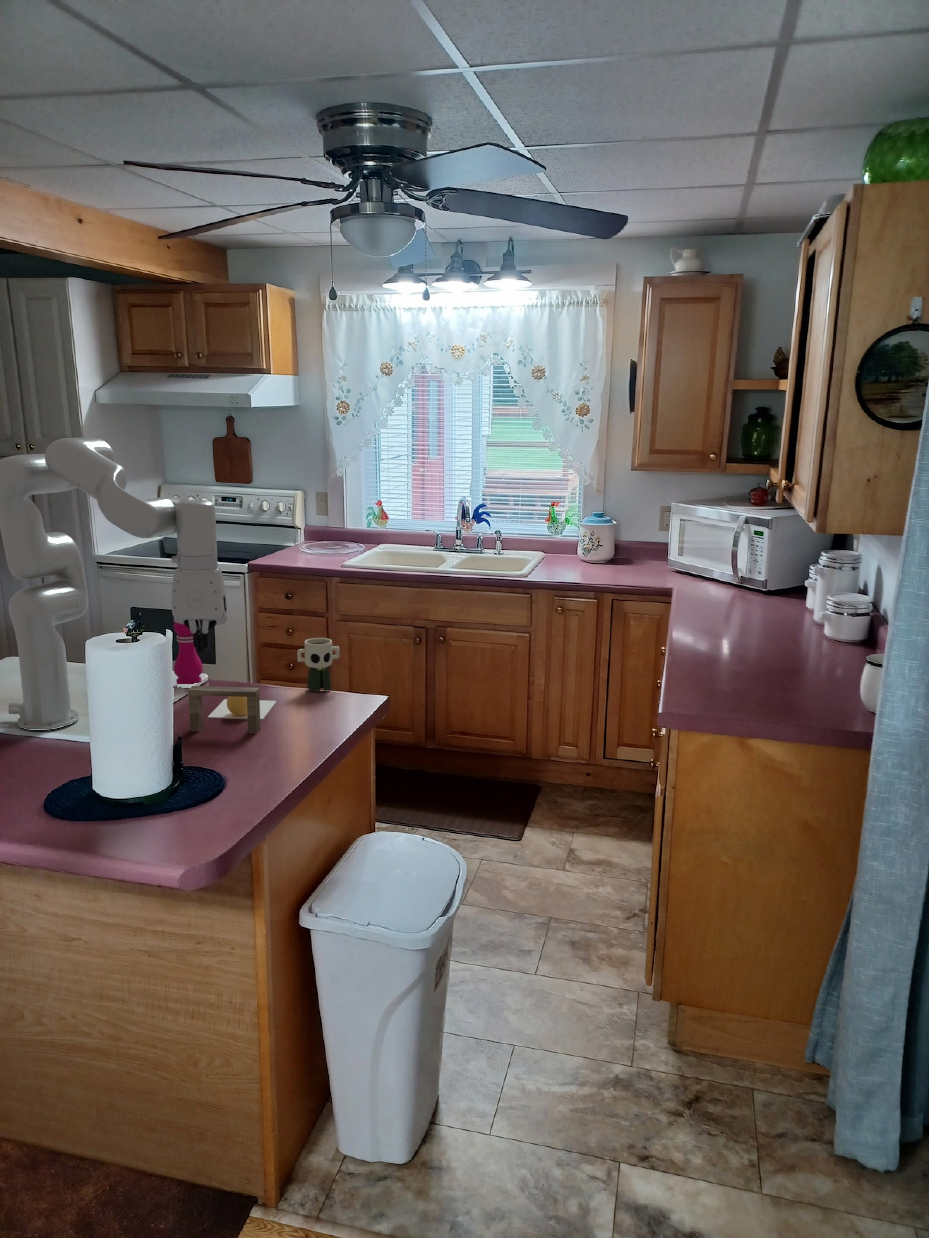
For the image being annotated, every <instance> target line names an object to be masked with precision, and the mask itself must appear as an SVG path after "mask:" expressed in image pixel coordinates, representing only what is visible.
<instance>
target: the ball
mask: <svg viewBox="0 0 929 1238" xmlns="http://www.w3.org/2000/svg"><path fill="white" fill-rule="evenodd" d="M226 699H227V708H228V710H229V711H230V712H231V713H232V714H234V715H237V716H242V715H245V714H247V697H232V696H227V698H226Z"/></svg>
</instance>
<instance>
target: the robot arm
mask: <svg viewBox="0 0 929 1238" xmlns="http://www.w3.org/2000/svg"><path fill="white" fill-rule="evenodd" d="M127 484H128V474H127V471H126V469H125V468H124V467H123V466H122V465H120V464H118V463H117V462H116V455H115V453H114V451H113V448H112V447H111V446H110V445H109V443H107V442H106V441H104V440H103V439H102V438H101V439H100V438H98V437H94V436H93V437H91V436H89V437H88V436H87V437H63V438H59V439H56V440H55V441H53V442H51V443H50V444H48V446H47V448H46V449H45V453H31V454H30V453H29V454H28V453H27V454H18V455H11V456H7V457H5V458H2V459H0V534H1V540H2V544H3V549H4V554H5V558H6V562H7V566H8V570H9V572H10V573H11V575H12V576H13V577H14V578H16V579H18V580H21V581H30V580H31V581H32V580H37V579H43V578H46V577H47V578H48V577H49V580H50V581H49V582H44V583H38V584H35V585H30V586H27V587H24V588H22V589H19V590H17V591H16V592H15V593H14V594H13V595H12V596H11V598H10V599H9V602H8V613H9V617H10V620H11V623H12V626H13V629H14V633H15V639H16V644H17V652H18V662H19V669H20V670H19V671H20V681H21V691H22V693H21V694H22V701H23V703H19V702H10V703H9V704H8V708H7V709H8V710H7V711H8V714H10V715H16V714H17V715H19V718H18V719H17V726H18V725H19V726H21V727H23V728H26V729H52V728H57V727H60V726H66V725H68V724H70V723H71V722H74V721H75V720H76V719H78V717H79V718H80V716H79V713H78V711H76V710H74V709H71V697H70V686H69V685H70V684H69V674H68V661H67V653H66V651H67V650H66V644H65V642H64V640H63V639H64V638H63V637H62V636H61V634H60V633H59V632H58V630H57V628H56V626H57V625H59V624H63V623H67V622H70V621H74V620H77V619H79V618H81V617H82V616H84V615H85V614H86V612H87V610H88V608H89V601H90V600H89V599H90V597H89V592H88V586H87V580H86V575H85V568H84V565H83V560H82V555H81V551H80V549H79V547H78V544H77V543H76V542H75V540H74V539H73V538H72V537H71V536H70V535H68V534H66V533H64V532H59V531H52V532H46V529H45V527H44V520H43V516H42V514H41V512H40V510H39V508H38V507H37V505H36V504H35V503H34V502H33V500H31V499H30V498H29V497H30V496H33V495H43V494H54V493H55V494H56V493H63V492H68V491H72V490H75V489H78V490H80V491H82V492H83V493H84V494H86V495H88V496H90V497H91V498H93V499H95V500H96V502H97V506H98V508H99V510H100V511H101V512H100V513H102V515H103V517H104V518H105V519H106V520H107V521H108V522H109V523H111V524H112V525H114V526H115V527H117V528H119V529H120V530H122V531H124V532H126V533H127V534H129V535H131V536H134V537H135V538H140V539H153V538H157V537H161V536H169V535H174V534H176V542H177V554H176V555H173V556H171V559H170V560H171V563H172V564H175V565H177V568H175V569H174V571H173V576H172V577H173V578H172V588H171V613H172V616H173V621H174V623H175V622H177V623H180V624H185V625H186V626H187V627H188V628H189V629H190V631H191V633H193V644H194V647H195V649H196V653H197V654H199V653H206V652H207V651H208V650H209V649H210V647H211V631H212V630H213V629H214V628H215V626H221V625H225V624H226V623H227V622H228V617H227V611H228V603H227V592H226V586H225V582H224V575H223V572H222V569H221V568H219V565H218V564H219V563H218V546H217V543H218V542H217V541H218V540H217V522H216V520H217V518H216V507H215V505H214V503H213V502H211V501H208V500H203V499H202V500H201V499H186V498H183V497H179V496H164V497H163V496H162V497H152V498H146V499H145V498H144V499H141V498H138V497H137V496H134V495H133V494H131V493H129V492H127V491H126V490H125V489H126V487H127ZM200 621H202V626H201V622H200ZM78 720H79V719H78ZM19 726H18V727H19Z"/></svg>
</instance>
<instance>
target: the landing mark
mask: <svg viewBox="0 0 929 1238" xmlns="http://www.w3.org/2000/svg"><path fill="white" fill-rule="evenodd" d="M227 699H228V698H224V699H223V700H222V701H221V702H220V703H219V704H218V706H217V707H215V709H213V711H212V712H211V713H210V714H209V715H208V716H207V719H210V718H211V719H232V720H233V719H235V720H237V719H238V720H248V716H247V714H245V715H242V716H237V715H234V714H232V713H231V712H230V711H229V710H228V708H227ZM277 702H278V701H277V700H265V699H263V700H262V699H260V721H262V720H264V719H265V718H266V716H267V715H268V714H269V713H270V711H271V710H272V708H273V707H274V706H275V704H276V703H277Z"/></svg>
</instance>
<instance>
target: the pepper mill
mask: <svg viewBox="0 0 929 1238" xmlns="http://www.w3.org/2000/svg"><path fill="white" fill-rule="evenodd" d="M173 629H174V632H175V633H176V634H177V635H176V642H177V643H178V647H179V648H178V654H177V658H176V659H175V662H174V665H173V673H174V675H175V676H176V677H177V678H176V680H175V681H176V682H177V684H194V683H199V682H201V681H203V680H202V677H201V676H200V675H202V673H203V671H204V666H203V663H202V660H201V658H200V657H199V655H198V653H196V647H194V644H193V633H191V631H190V629H189V628H188V627H187V626H186V625H185V624H180V623H177V622H175V621H174V622H173ZM177 684H176V685H177Z"/></svg>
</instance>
